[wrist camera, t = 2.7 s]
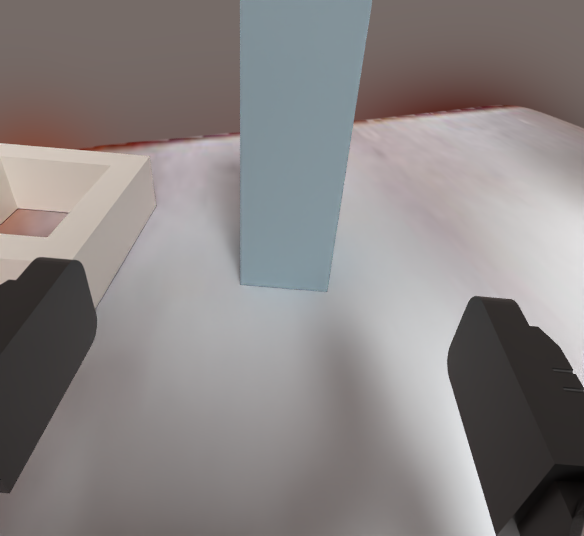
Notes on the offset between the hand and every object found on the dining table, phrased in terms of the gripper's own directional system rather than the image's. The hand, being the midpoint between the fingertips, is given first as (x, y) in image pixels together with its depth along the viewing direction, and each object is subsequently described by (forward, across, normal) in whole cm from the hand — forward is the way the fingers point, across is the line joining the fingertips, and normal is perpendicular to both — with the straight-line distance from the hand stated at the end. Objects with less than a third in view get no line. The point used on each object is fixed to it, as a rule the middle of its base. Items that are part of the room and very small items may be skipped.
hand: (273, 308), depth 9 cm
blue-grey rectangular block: (+11, 0, +7) cm, 13 cm away
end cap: (+10, +12, +7) cm, 17 cm away
